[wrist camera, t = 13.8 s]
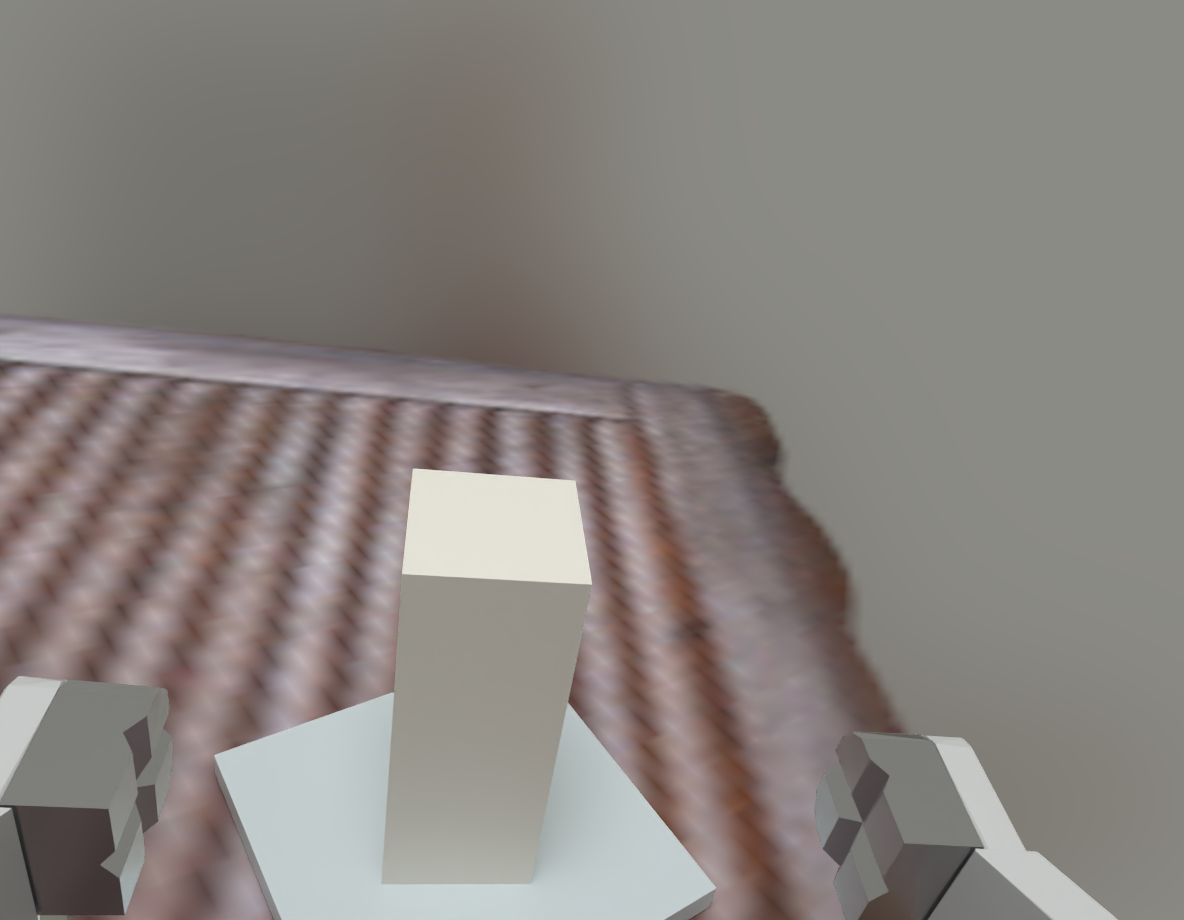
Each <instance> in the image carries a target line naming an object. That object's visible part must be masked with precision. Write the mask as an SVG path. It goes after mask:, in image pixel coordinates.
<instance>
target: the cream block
mask: <svg viewBox="0 0 1184 920" xmlns="http://www.w3.org/2000/svg"><path fill="white" fill-rule="evenodd" d="M591 587H592V581H591V575H590V569H589V563H588V556H587V550H586V544H585V538H584V532H583V526H582V520H581V513H580V507H579V501H578V495H577V489H576V483H575V481H571V480H558V479H545V478H531V477H518V476H505V475H491V474H478V473H465V472H452V471H438V470H425V469H413V474H412V484H411V493H410V503H409V512H408V522H407V531H406V541H405V551H404V560H403V570H402V582H401V597H400V612H399V627H398V642H397V657H396V672H395V687H394V702H393V717H392V732H391V747H390V762H389V777H388V792H387V807H386V822H385V837H384V852H383V867H382V882H381V884H530V883H531V878H532V873H533V869H534V864H535V859H536V854H537V849H538V844H539V840H540V835H541V830H542V825H543V820H544V815H545V810H546V806H547V801H548V796H549V791H550V786H551V781H552V776H553V772H554V767H555V762H556V757H557V752H558V747H559V743H560V738H561V733H562V728H563V723H564V718H565V713H566V709H567V704H568V699H569V694H570V689H571V684H572V680H573V675H574V670H575V665H576V660H577V655H578V650H579V646H580V641H581V636H582V631H583V626H584V621H585V616H586V612H587V607H588V602H589V597H590V592H591Z"/></svg>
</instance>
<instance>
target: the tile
mask: <svg viewBox="0 0 1184 920" xmlns="http://www.w3.org/2000/svg"><path fill="white" fill-rule="evenodd" d="M393 702H394V692H392V693H390V694H387V695H384V696H381V697H378V698H375V699H372V700H370V701H367V702H364V703H361V704H358V705H355V706H353V707H350V708H347V709H344V710H341V711H338V712H335V713H333V714H330V715H327V716H324V717H321V718H318V719H316V720H313V721H310V722H307V723H304V724H301V725H298V726H296V727H293V728H290V729H287V730H284V731H281V732H279V733H276V734H273V735H270V736H267V737H264V738H261V739H259V740H256V741H253V742H250V743H247V744H244V745H242V746H239V747H236V748H233V749H230V750H227V751H225V752H222V753H219V754H216V755H214V762H215V774H216V777H217V780H218V782H219V785H220V787H221V790H222V792H223V795H224V797H225V800H226V802H227V805H228V807H229V810H230V812H231V815H232V817H233V820H234V822H235V824H236V827H237V829H238V832H239V834H240V837H241V839H242V842H243V844H244V847H245V849H246V852H247V854H248V857H249V859H250V862H251V864H252V867H253V869H254V872H255V874H256V876H257V879H258V881H259V884H260V886H261V889H262V891H263V894H264V896H265V899H266V901H267V904H268V906H269V909H270V911H271V914H272V916H273V919H274V920H689V919H690V918H692V917H693V916H695V915H697V914H698V913H700V912H702V911H703V910H705V909H706V908H708V907H710V904H711V901H712V899H713V896H714V893H715V891H716V887H715V886H714V884H713V883H712V882H711V881H710V879H709V878H708V877H707V876H706V874H705V873H704V872H703V871H702V869H701V868H700V867H699V866H698V864H697V863H696V862H695V861H694V859H693V858H692V857H691V856H690V854H689V853H688V852H687V851H686V849H685V848H684V847H683V846H682V844H681V843H680V842H679V841H678V839H677V838H676V837H675V836H674V834H673V833H672V832H671V831H670V829H669V828H668V827H667V826H666V824H665V823H664V822H663V821H662V819H661V818H660V817H659V816H658V814H657V813H656V812H655V811H654V809H653V808H652V807H651V806H650V804H649V803H648V802H647V801H646V800H645V798H644V797H643V796H642V795H641V793H640V792H639V791H638V790H637V788H636V787H635V786H634V785H633V783H632V782H631V781H630V780H629V778H628V777H627V776H626V775H625V773H624V772H623V771H622V770H621V768H620V767H619V766H618V765H617V763H616V762H615V761H614V760H613V758H612V757H611V756H610V755H609V753H608V752H607V751H606V750H605V748H604V747H603V746H602V745H601V743H600V742H599V741H598V740H597V738H596V737H595V736H594V735H593V733H592V732H591V731H590V730H589V728H588V727H587V726H586V725H585V723H584V722H583V721H582V720H581V718H580V717H579V716H578V715H577V713H576V712H575V711H574V710H573V708H572V707H571V706H570V705H569V703H568V704H567V709H566V713H565V718H564V723H563V728H562V733H561V738H560V743H559V747H558V752H557V757H556V762H555V767H554V772H553V776H552V781H551V786H550V791H549V796H548V801H547V806H546V810H545V815H544V820H543V825H542V830H541V835H540V840H539V844H538V849H537V854H536V859H535V864H534V869H533V873H532V878H531V883H530V884H381V882H382V867H383V852H384V837H385V822H386V807H387V792H388V777H389V762H390V747H391V732H392V717H393Z"/></svg>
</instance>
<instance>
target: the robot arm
mask: <svg viewBox="0 0 1184 920" xmlns="http://www.w3.org/2000/svg"><path fill="white" fill-rule="evenodd" d="M169 710H170V709H169V701H168V694H167V690H166V689H163V688H157V687H145V686H134V685H123V684H112V683H101V682H89V681H78V680H62V679H49V678H37V677H25V676H18V677H17V678H16V679H15V680H14V681H13V682H11V683H10V684H9V685H8V686H7V687H6V688H5V689H4V691H3V693H2V694H1V696H0V920H38V916H37V915H125V913H126V910H127V908H128V905H129V902H130V899H131V896H132V894H133V891H134V888H135V885H136V882H137V880H138V877H139V874H140V871H141V868H142V866H143V863H144V860H145V850H144V841H143V833H144V832H146V831H147V830H148V829H149V828H150V827H152V826H153V825H154V824H155V823H157V822H158V820H159V817H160V814H161V811H162V808H163V805H164V802H165V799H166V796H167V791H168V786H169V781H170V777H171V772H172V759H173V744H172V736H171V735H170V734H168V733H167V732H166V731H165V730H164V729H163V726H164V724H165V721H166V718H167V716H168V713H169ZM836 753H837V756H838V759H839V761H840V764H838V765H836V766H835V767H833V768H832V769H830V770H829V771H827V772H826V773H824V775H823V777H822V779H821V782H820V784H819V786H818V789H817V791H816V802H815V819H816V827H817V832H818V835H819V838H820V842H821V845H822V848H823V850H824V851H825V852H826V853H827V854H828V855H829V856H830V857H831V858H832V859H833V860H834V861H835V862H836V863H837V864H838V865H839V868H838V871H837V874H836V876H835V879H834V881H833V883H834V886H835V889H836V892H837V895H838V898H839V901H840V904H841V907H842V910H843V914H844V917H845V920H1117V919H1116V918H1115V917H1114V916H1113V915H1111V914H1110V913H1109V912H1108V911H1107V910H1105V909H1104V908H1103V907H1102V906H1101V905H1099V904H1098V903H1097V902H1096V901H1095V900H1093V899H1092V898H1091V897H1090V896H1089V895H1088V894H1087V893H1085V892H1084V891H1083V890H1082V889H1080V888H1079V887H1078V886H1077V885H1076V884H1075V883H1074V882H1072V881H1071V880H1070V879H1069V878H1068V877H1066V876H1065V875H1064V874H1063V873H1062V872H1060V871H1059V870H1058V869H1057V868H1056V867H1055V866H1053V865H1052V864H1051V863H1050V862H1049V861H1047V860H1046V859H1045V858H1044V857H1043V856H1041V855H1040V854H1039V853H1038V852H1034V851H1026V850H1025V848H1024V846H1023V844H1022V842H1021V840H1020V838H1019V836H1018V834H1017V833H1016V831H1015V829H1014V827H1013V825H1012V823H1011V821H1010V820H1009V817H1008V816H1007V814H1006V812H1005V810H1004V808H1003V806H1002V804H1001V802H1000V800H999V799H998V797H997V795H996V793H995V791H994V789H993V787H992V785H991V783H990V781H989V780H988V778H987V776H986V774H985V772H984V770H983V768H982V766H981V764H980V762H979V761H978V759H977V757H976V755H975V753H974V751H973V749H972V747H971V746H970V745H969V744H968V743H967V742H966V741H965V740H963V738H953V737H937V736H921V735H914V734H894V733H875V732H855V731H850V732H849V733H848V734H846V735H845V736H843V737H842V739H841V741H840V743H839V745H838V747H837V749H836Z"/></svg>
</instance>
